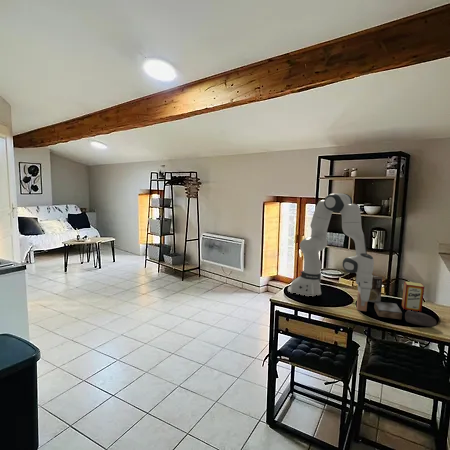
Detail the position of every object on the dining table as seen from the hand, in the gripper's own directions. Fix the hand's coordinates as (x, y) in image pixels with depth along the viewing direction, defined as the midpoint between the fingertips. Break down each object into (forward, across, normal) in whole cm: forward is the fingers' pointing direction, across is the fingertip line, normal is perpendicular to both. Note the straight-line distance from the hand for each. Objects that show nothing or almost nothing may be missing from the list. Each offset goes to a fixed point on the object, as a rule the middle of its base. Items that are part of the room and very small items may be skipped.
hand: (361, 303), depth 195 cm
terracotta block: (+4, 0, 0) cm, 4 cm away
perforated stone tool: (+4, +12, +28) cm, 31 cm away
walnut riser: (+4, +1, +14) cm, 14 cm away
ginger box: (+4, -12, +30) cm, 33 cm away
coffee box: (+4, -18, +9) cm, 20 cm away
